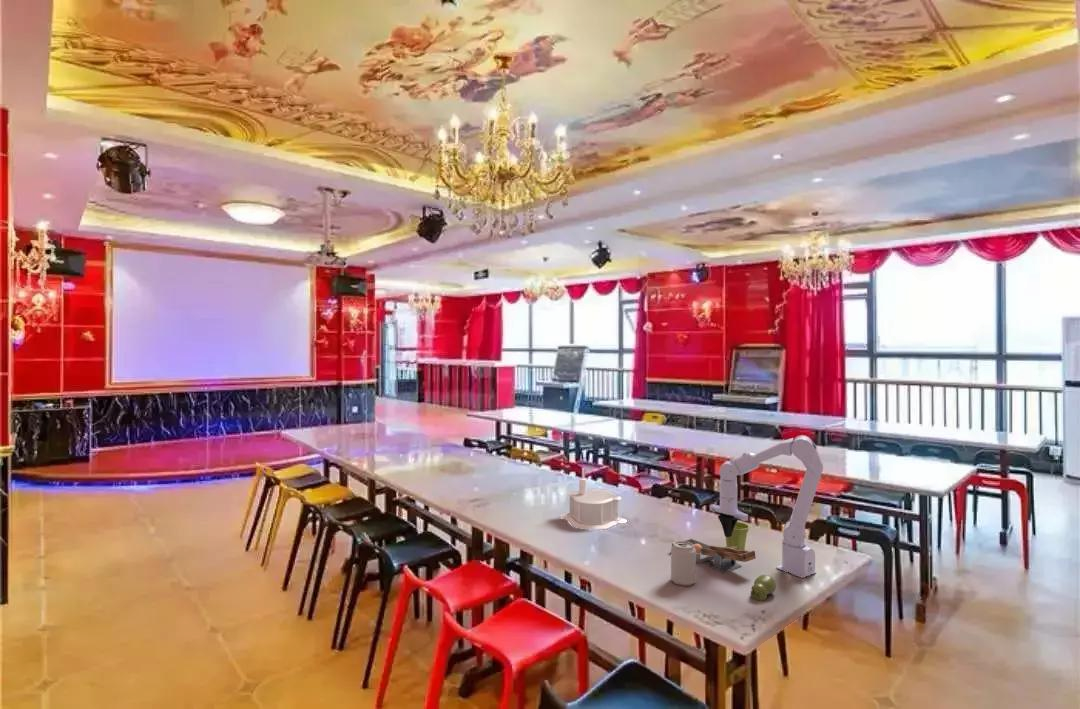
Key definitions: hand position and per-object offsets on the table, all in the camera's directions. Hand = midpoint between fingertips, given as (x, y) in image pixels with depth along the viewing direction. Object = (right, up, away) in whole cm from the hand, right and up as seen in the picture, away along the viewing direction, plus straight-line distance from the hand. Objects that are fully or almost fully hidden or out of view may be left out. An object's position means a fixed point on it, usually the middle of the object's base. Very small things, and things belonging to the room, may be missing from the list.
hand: (728, 536), depth 192 cm
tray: (-10, -8, +4) cm, 14 cm away
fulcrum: (-3, -8, -7) cm, 11 cm away
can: (-20, -8, -19) cm, 29 cm away
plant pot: (+6, -8, +10) cm, 14 cm away
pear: (+1, -9, -28) cm, 29 cm away
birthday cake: (-42, -8, +43) cm, 61 cm away
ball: (-10, -6, +3) cm, 12 cm away
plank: (0, -4, -6) cm, 7 cm away
